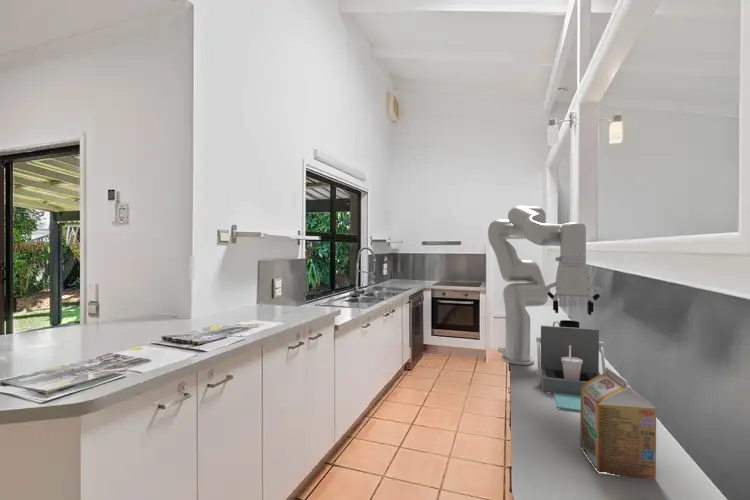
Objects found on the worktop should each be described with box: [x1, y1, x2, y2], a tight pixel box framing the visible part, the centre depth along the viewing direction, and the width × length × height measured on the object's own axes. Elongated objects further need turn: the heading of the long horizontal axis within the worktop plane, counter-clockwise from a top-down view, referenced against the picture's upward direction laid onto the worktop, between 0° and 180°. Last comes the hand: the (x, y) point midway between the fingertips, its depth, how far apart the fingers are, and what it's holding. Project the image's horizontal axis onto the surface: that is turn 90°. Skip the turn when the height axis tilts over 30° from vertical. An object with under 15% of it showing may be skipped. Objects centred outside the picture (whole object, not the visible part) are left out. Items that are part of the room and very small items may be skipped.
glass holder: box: [552, 319, 580, 328], centre depth 171 cm, size 9×14×15 cm, turn 15°
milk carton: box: [579, 366, 657, 481], centre depth 85 cm, size 11×11×19 cm
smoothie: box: [561, 345, 583, 381], centre depth 130 cm, size 6×6×14 cm
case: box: [536, 325, 606, 396], centre depth 131 cm, size 21×15×18 cm
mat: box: [553, 393, 581, 413], centre depth 117 cm, size 12×12×1 cm
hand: (572, 313), depth 130 cm, fingers open, 9 cm apart
